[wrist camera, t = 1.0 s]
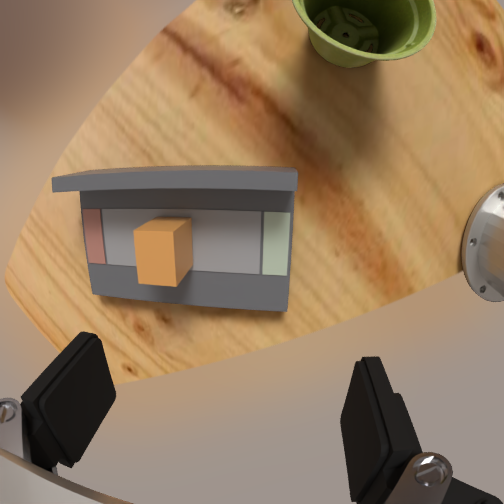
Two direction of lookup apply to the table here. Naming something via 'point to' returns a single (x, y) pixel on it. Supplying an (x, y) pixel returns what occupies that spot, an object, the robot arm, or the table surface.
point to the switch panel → (203, 231)
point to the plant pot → (367, 28)
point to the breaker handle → (163, 250)
